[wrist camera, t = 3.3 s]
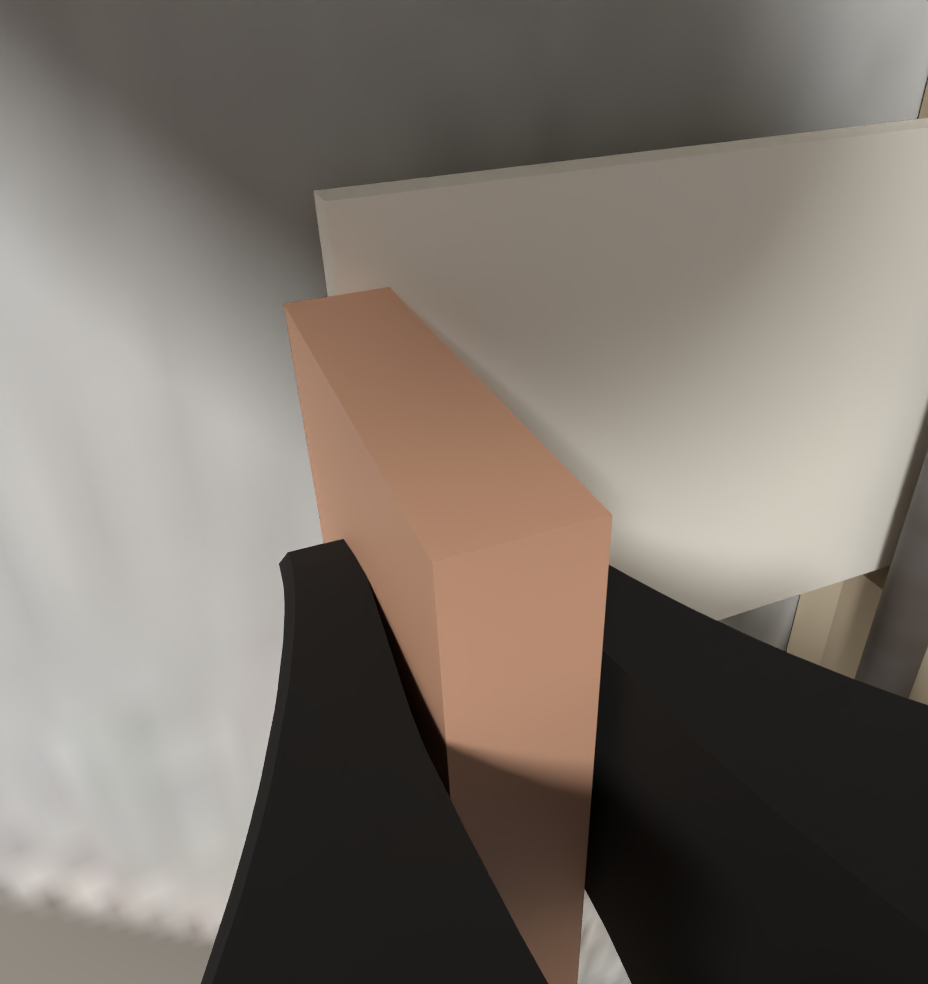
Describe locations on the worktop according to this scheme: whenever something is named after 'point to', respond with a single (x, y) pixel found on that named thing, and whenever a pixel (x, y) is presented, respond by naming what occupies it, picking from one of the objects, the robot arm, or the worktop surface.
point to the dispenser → (876, 610)
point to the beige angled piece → (606, 433)
